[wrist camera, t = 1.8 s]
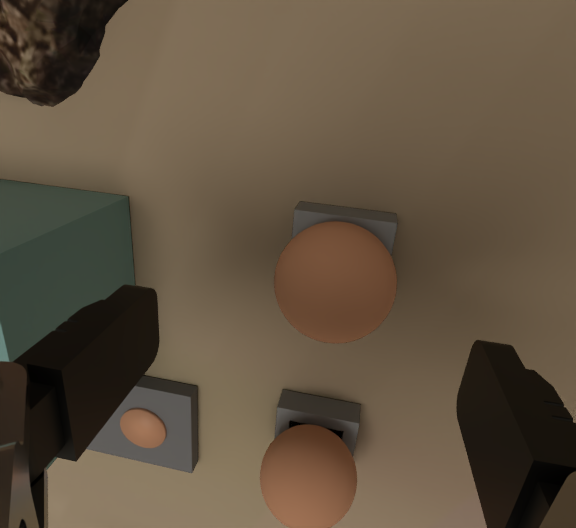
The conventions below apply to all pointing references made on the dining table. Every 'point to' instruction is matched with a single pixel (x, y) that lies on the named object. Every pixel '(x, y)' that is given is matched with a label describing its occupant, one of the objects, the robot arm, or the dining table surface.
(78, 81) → the stone relief
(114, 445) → the card
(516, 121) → the dining table surface
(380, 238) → the frame
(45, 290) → the teal open box
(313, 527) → the ball
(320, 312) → the ball
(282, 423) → the frame
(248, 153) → the dining table surface
